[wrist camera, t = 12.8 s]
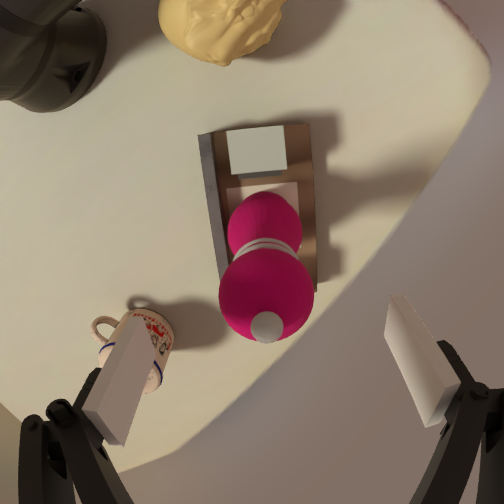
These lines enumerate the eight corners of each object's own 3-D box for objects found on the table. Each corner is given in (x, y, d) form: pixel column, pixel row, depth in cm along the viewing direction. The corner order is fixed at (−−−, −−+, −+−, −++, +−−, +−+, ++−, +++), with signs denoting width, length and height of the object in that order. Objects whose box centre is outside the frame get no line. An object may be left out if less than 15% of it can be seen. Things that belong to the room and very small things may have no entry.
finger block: (231, 130, 30) (226, 131, 25) (279, 125, 30) (283, 125, 25) (236, 172, 32) (232, 181, 27) (283, 168, 32) (287, 175, 27)
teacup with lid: (187, 330, 43) (169, 390, 32) (158, 361, 46) (138, 416, 35) (119, 282, 40) (82, 332, 29) (96, 319, 43) (63, 368, 32)
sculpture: (237, 88, 30) (227, 72, 20) (154, 39, 27) (115, 12, 17) (298, 17, 26) (314, -22, 16) (214, -29, 24) (199, -75, 14)
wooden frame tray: (205, 133, 32) (202, 134, 30) (306, 123, 31) (309, 123, 29) (228, 291, 40) (227, 300, 38) (314, 284, 39) (317, 292, 37)
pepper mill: (309, 206, 33) (363, 313, 15) (276, 259, 36) (288, 396, 17) (251, 174, 32) (236, 250, 13) (220, 230, 34) (178, 354, 16)
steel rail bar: (202, 134, 30) (197, 135, 28) (213, 132, 30) (209, 133, 28) (227, 299, 38) (225, 310, 36) (236, 299, 38) (235, 309, 36)
